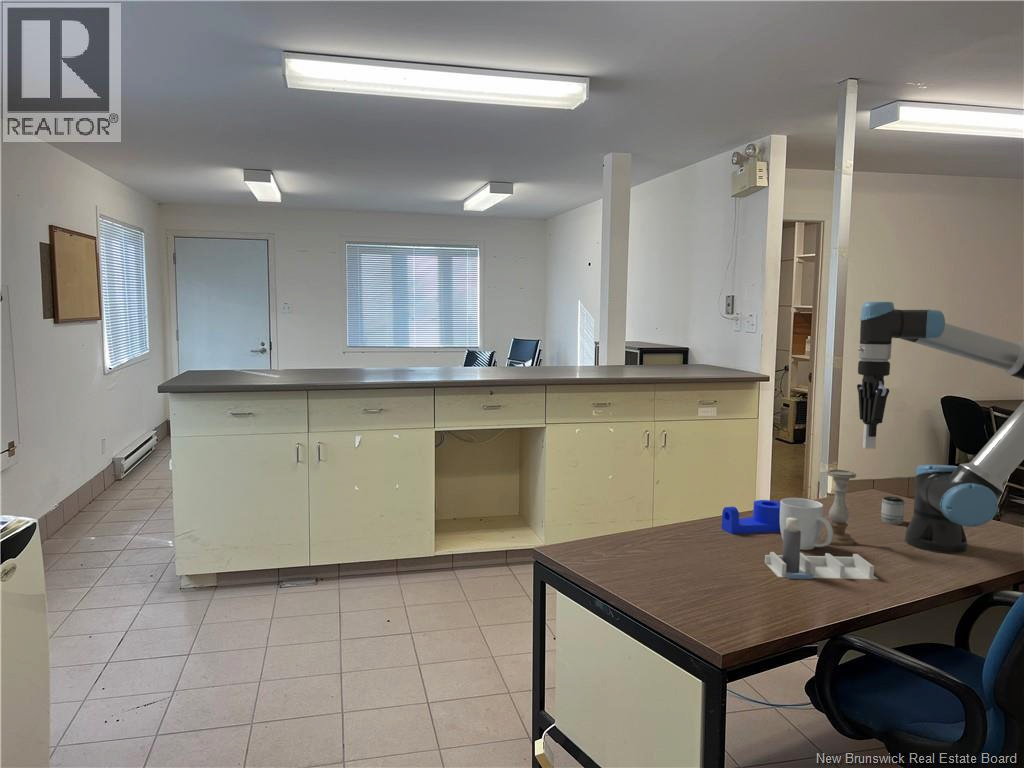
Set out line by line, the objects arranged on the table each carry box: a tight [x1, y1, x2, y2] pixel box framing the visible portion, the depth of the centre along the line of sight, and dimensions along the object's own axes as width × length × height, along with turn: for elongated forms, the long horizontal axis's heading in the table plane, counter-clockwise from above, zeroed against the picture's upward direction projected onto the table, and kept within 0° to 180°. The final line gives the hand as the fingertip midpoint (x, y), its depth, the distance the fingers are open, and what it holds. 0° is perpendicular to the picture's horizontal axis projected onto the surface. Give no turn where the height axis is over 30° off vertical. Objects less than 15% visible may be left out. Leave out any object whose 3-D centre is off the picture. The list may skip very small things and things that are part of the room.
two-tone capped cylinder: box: [782, 518, 801, 573], centre depth 173 cm, size 4×4×13 cm
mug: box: [779, 497, 833, 551], centre depth 191 cm, size 15×11×13 cm
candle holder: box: [820, 469, 857, 547], centre depth 198 cm, size 9×9×20 cm
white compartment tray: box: [764, 551, 879, 580], centre depth 172 cm, size 24×11×4 cm, turn 88°
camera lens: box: [880, 496, 906, 526], centre depth 219 cm, size 6×6×8 cm
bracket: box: [721, 499, 781, 535], centre depth 211 cm, size 20×9×8 cm, turn 108°
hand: (869, 447), depth 186 cm, fingers closed
